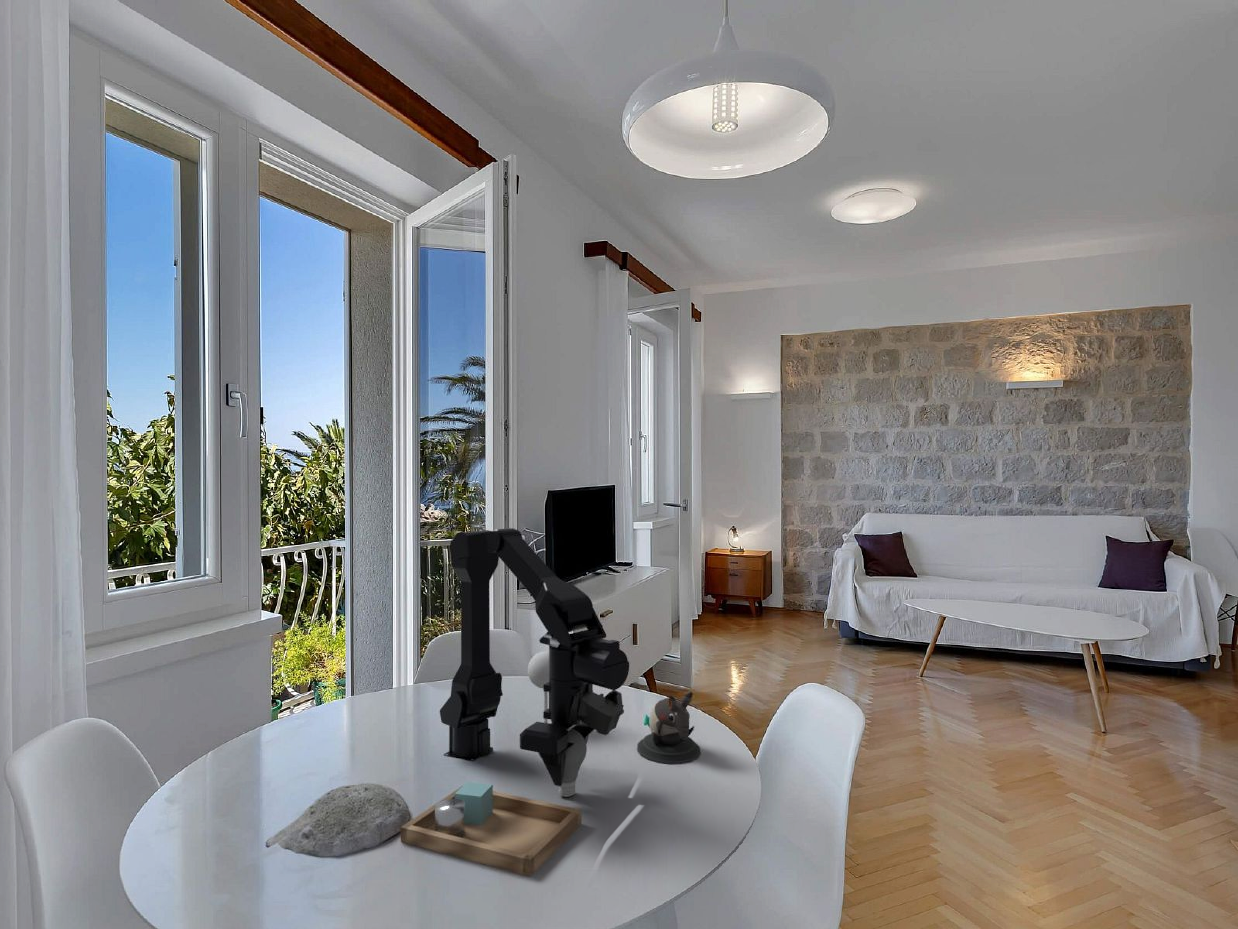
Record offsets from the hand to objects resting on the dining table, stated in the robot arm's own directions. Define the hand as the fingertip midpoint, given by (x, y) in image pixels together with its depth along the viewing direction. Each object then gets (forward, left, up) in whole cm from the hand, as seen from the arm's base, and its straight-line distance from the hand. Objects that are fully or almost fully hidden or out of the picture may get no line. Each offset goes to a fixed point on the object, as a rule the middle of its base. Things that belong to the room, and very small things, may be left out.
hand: (567, 778), depth 107 cm
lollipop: (-18, +25, -3) cm, 31 cm away
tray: (-4, -14, -3) cm, 15 cm away
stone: (-23, -20, -4) cm, 31 cm away
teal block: (-9, -12, -3) cm, 15 cm away
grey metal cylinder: (-9, -17, -3) cm, 19 cm away
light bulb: (0, 0, -3) cm, 3 cm away
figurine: (+8, +24, -4) cm, 26 cm away
